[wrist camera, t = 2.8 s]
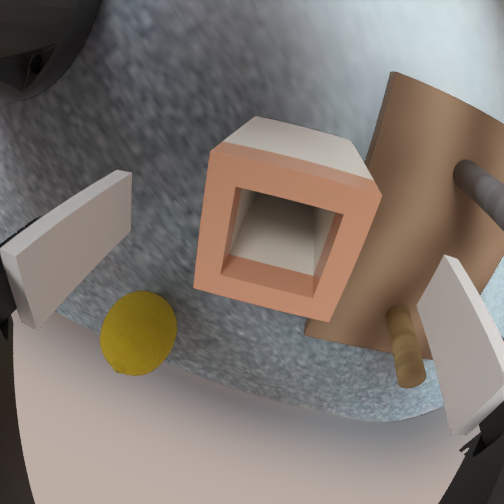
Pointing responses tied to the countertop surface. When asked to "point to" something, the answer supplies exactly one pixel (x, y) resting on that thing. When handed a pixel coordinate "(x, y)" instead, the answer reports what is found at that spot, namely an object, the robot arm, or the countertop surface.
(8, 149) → the countertop surface
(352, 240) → the sleeve
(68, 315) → the countertop surface
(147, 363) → the lemon
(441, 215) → the pin board
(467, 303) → the robot arm
